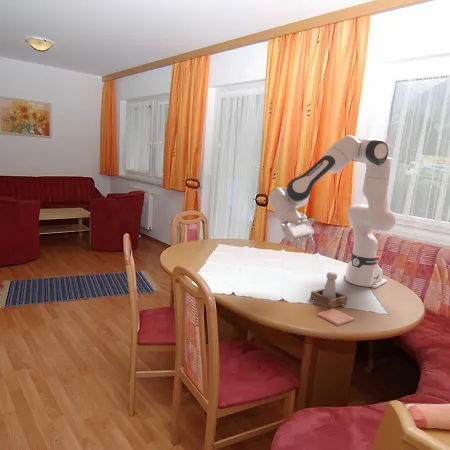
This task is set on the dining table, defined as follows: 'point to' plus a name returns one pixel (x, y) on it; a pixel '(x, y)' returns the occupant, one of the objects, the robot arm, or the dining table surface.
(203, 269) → the dining table surface
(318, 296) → the box
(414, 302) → the dining table surface
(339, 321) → the terracotta tile
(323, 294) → the salt shaker
